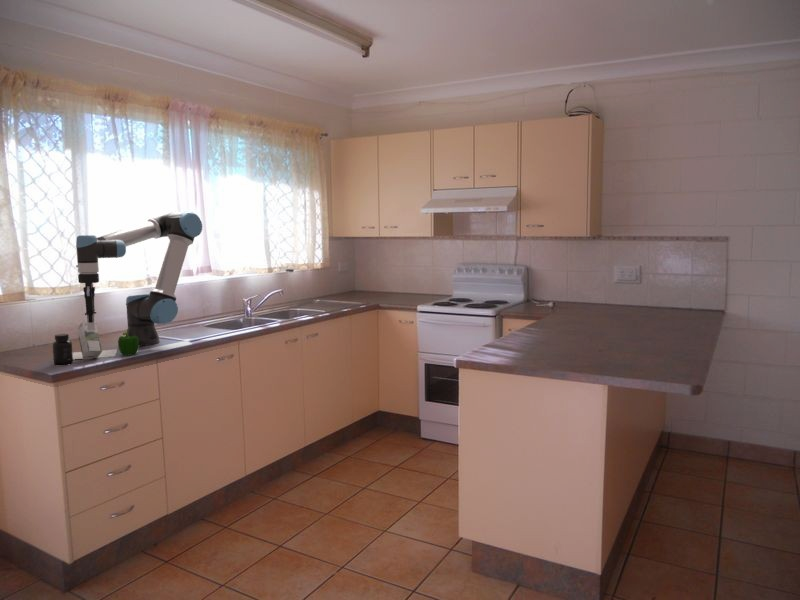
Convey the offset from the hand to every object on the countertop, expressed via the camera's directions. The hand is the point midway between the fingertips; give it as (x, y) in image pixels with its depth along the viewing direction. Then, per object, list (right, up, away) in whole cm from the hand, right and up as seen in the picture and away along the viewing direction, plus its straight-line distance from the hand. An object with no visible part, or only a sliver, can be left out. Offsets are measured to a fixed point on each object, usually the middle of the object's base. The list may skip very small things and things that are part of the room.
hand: (91, 329), depth 250 cm
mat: (-3, -11, +8) cm, 14 cm away
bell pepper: (+11, -11, +9) cm, 18 cm away
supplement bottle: (-7, -14, -8) cm, 17 cm away
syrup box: (+1, -10, -2) cm, 11 cm away
